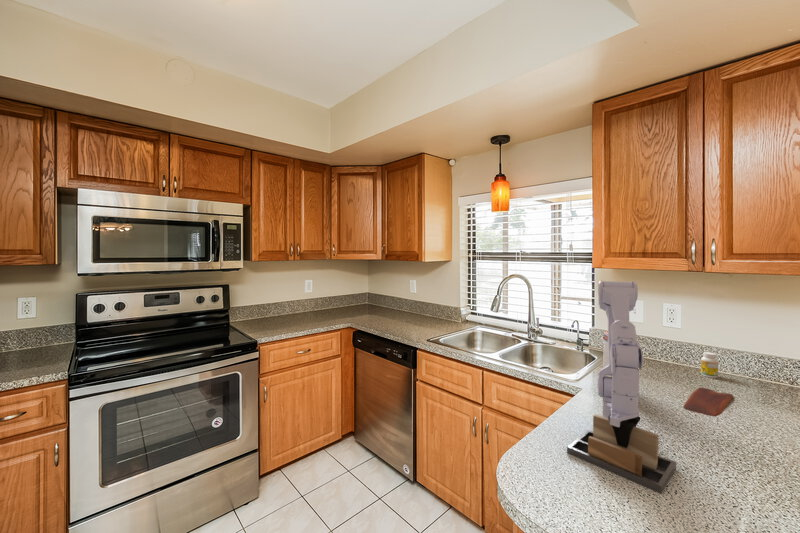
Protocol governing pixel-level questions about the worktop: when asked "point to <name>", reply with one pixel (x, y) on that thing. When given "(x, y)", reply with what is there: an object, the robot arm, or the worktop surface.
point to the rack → (649, 478)
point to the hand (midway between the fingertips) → (623, 444)
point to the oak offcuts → (615, 455)
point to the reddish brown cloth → (707, 402)
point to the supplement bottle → (709, 365)
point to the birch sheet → (638, 442)
